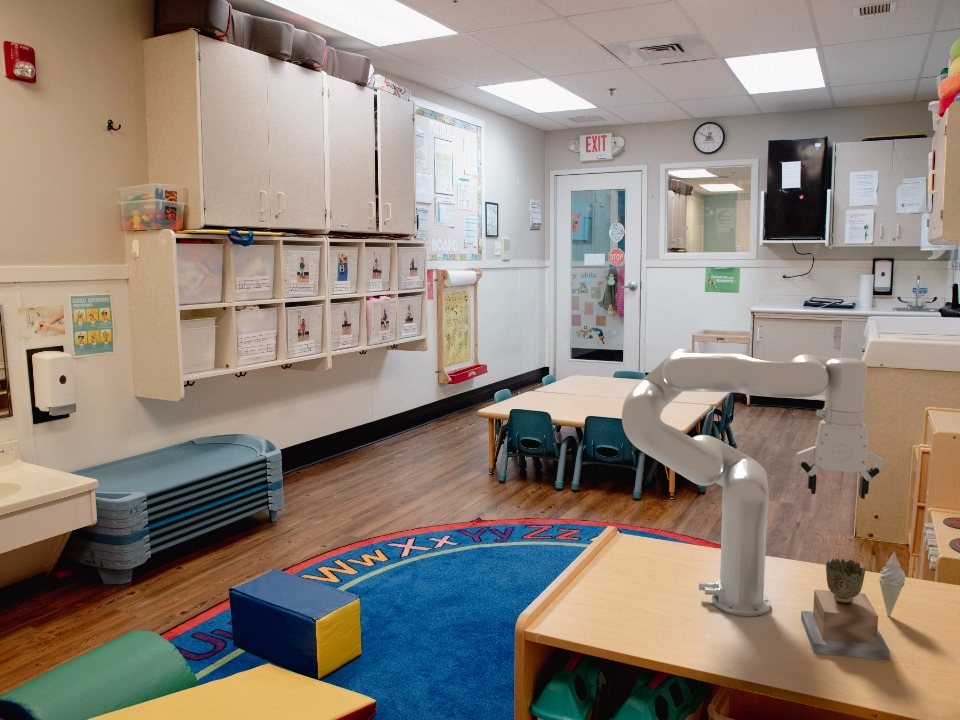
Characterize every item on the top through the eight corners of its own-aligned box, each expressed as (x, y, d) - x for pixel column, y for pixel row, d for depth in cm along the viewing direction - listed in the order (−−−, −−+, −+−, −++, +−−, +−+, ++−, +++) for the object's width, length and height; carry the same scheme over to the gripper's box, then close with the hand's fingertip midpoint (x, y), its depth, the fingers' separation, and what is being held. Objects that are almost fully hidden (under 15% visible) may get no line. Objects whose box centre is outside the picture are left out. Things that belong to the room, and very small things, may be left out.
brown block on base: (813, 652, 157) (815, 615, 156) (800, 619, 171) (802, 584, 169) (889, 659, 154) (892, 622, 153) (870, 625, 168) (872, 590, 166)
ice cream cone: (905, 622, 168) (910, 556, 166) (879, 620, 169) (884, 555, 167) (897, 611, 173) (902, 547, 171) (873, 609, 174) (877, 545, 172)
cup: (816, 594, 165) (818, 558, 163) (849, 592, 165) (852, 556, 164) (836, 611, 157) (838, 574, 156) (870, 609, 158) (873, 572, 157)
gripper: (800, 418, 163) (795, 496, 166) (892, 424, 158) (885, 504, 161) (797, 410, 171) (792, 485, 173) (885, 415, 166) (878, 492, 168)
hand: (837, 494), depth 167 cm, fingers open, 9 cm apart
